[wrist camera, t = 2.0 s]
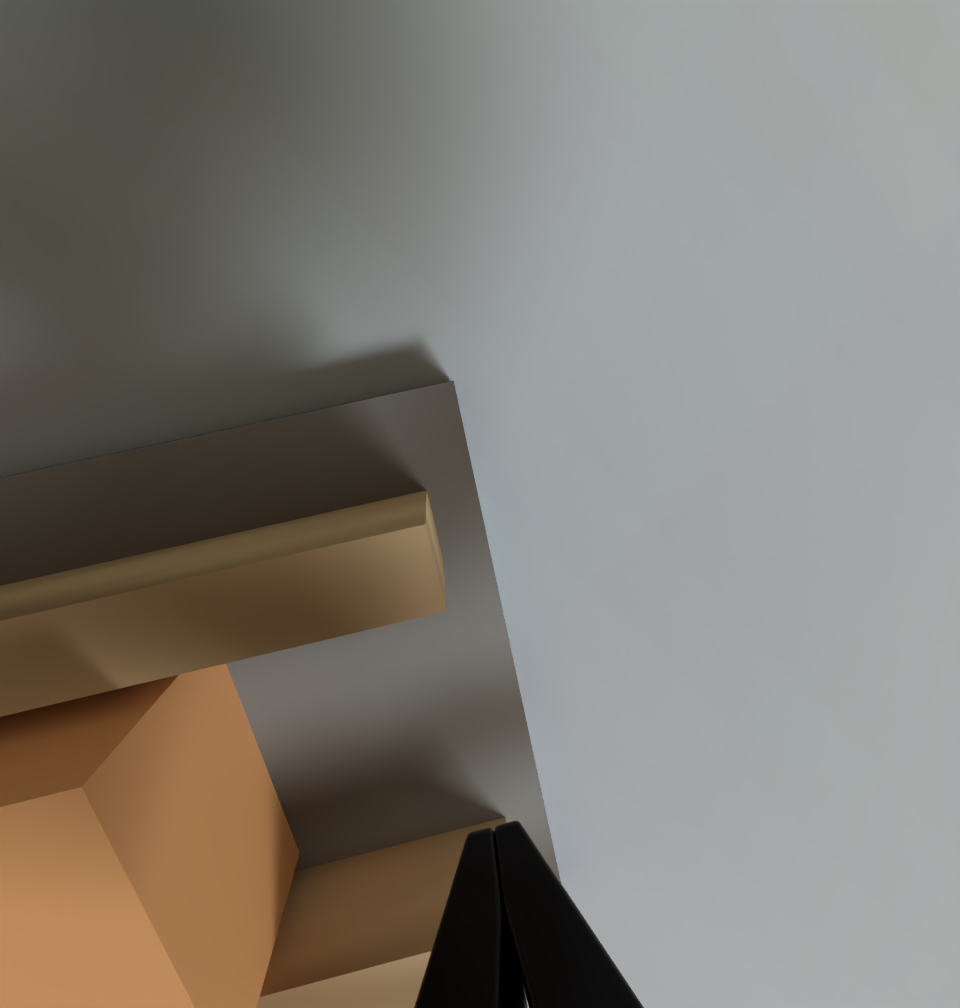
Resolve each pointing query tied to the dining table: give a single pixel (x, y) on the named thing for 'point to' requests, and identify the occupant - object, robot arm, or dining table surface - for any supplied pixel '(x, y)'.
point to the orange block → (139, 850)
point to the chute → (300, 652)
